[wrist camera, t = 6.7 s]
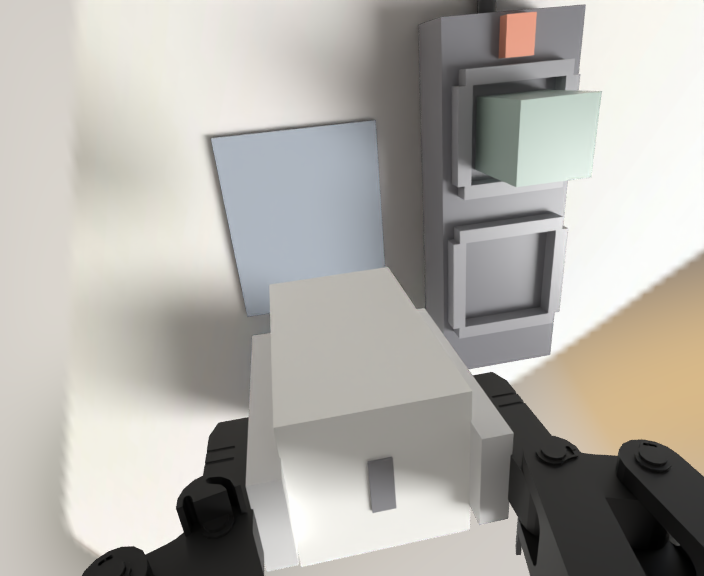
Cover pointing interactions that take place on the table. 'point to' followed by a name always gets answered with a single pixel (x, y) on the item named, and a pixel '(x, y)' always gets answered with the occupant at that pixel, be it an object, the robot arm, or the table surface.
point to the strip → (491, 182)
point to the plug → (537, 135)
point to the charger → (366, 417)
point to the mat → (301, 204)
